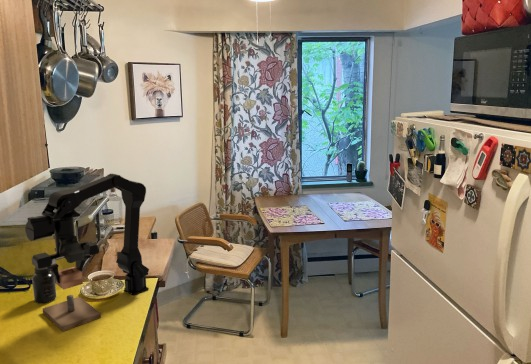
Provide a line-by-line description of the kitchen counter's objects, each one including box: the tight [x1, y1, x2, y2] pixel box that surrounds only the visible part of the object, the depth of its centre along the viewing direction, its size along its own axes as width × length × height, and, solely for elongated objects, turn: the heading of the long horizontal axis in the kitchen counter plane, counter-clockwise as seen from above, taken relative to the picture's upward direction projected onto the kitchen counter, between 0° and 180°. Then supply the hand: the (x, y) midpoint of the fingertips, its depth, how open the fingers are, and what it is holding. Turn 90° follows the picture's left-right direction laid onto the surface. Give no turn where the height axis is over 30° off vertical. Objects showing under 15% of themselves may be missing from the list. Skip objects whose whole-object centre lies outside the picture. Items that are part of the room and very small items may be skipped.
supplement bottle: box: [31, 266, 57, 305], centre depth 153 cm, size 7×7×12 cm
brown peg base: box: [42, 294, 102, 332], centre depth 143 cm, size 12×16×6 cm
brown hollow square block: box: [55, 266, 84, 291], centre depth 141 cm, size 6×6×4 cm
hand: (68, 280), depth 141 cm, fingers closed on brown hollow square block, 6 cm apart
